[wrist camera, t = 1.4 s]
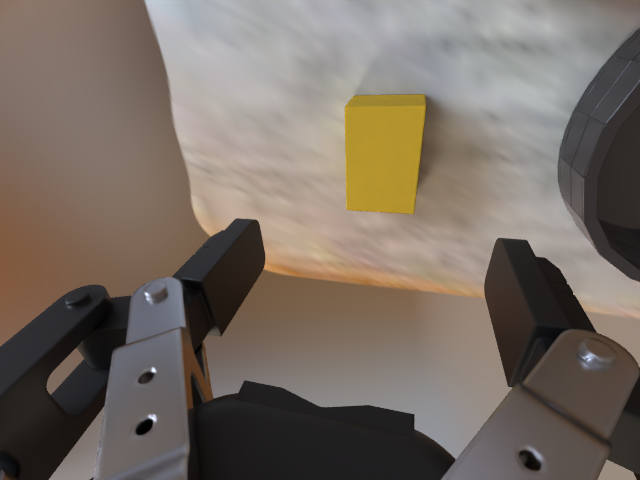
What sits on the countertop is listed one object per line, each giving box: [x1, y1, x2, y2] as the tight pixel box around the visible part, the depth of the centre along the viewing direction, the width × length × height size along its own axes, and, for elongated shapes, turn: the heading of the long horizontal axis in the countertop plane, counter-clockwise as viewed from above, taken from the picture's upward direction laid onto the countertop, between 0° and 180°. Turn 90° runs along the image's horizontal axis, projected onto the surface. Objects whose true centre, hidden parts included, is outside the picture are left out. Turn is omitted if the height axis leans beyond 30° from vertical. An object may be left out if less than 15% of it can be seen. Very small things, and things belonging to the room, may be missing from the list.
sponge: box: [345, 94, 426, 214], centre depth 19 cm, size 6×4×3 cm, turn 4°
